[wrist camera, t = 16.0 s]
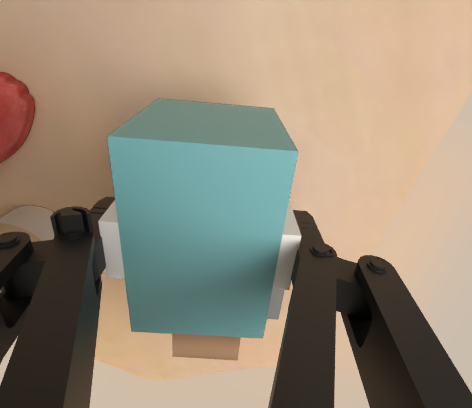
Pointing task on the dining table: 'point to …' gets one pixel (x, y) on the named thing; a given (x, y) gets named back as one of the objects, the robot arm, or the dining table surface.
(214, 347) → the walnut brick
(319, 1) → the dining table surface
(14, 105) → the stacking bear
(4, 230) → the coffee cup
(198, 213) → the teal brick
